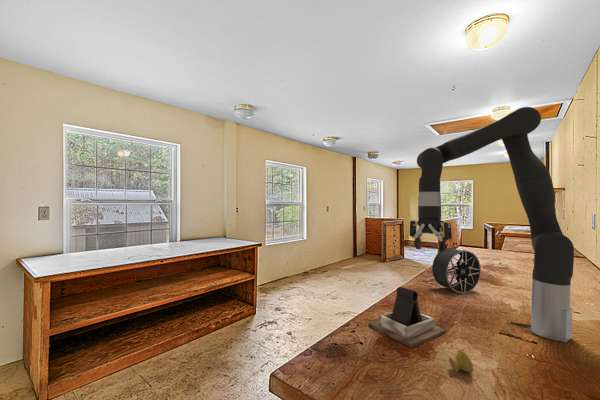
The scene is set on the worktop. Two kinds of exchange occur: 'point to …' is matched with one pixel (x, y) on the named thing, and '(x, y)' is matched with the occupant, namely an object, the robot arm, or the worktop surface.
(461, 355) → the knob
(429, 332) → the collar stand
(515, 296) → the worktop surface
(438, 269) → the wheel rim
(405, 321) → the phone stand
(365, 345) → the worktop surface
